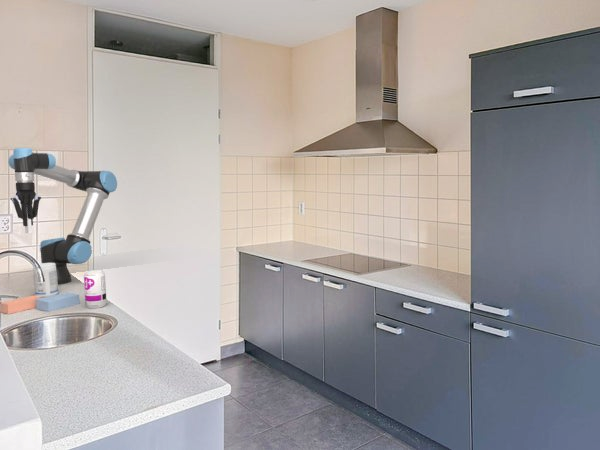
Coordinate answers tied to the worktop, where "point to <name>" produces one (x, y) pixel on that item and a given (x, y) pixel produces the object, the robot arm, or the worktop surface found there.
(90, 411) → the worktop surface
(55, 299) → the blue rectangular block
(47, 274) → the supplement tub
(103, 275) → the supplement can
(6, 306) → the orange rectangular block
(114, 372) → the worktop surface
